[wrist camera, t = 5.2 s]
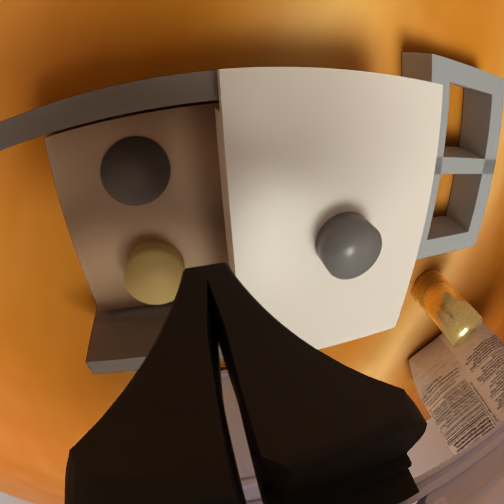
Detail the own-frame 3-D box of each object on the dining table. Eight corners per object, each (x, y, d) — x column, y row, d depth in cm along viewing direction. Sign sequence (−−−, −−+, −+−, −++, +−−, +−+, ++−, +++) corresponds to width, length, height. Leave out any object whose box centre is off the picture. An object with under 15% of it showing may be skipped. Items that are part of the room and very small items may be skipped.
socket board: (453, 229, 20) (474, 245, 18) (384, 241, 19) (405, 262, 17) (476, 73, 14) (504, 79, 12) (401, 52, 13) (432, 53, 11)
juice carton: (396, 361, 28) (507, 565, 6) (471, 299, 27) (602, 482, 4) (411, 384, 33) (499, 546, 11) (474, 333, 31) (575, 484, 9)
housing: (312, 284, 20) (341, 332, 16) (102, 318, 18) (93, 373, 14) (320, 70, 13) (370, 72, 9) (38, 109, 11) (-9, 125, 7)
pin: (433, 294, 24) (472, 340, 19) (407, 302, 23) (447, 352, 18) (442, 266, 22) (488, 311, 17) (416, 273, 22) (463, 323, 17)
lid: (376, 303, 18) (403, 339, 15) (236, 334, 17) (249, 381, 14) (409, 79, 11) (460, 88, 8) (212, 71, 10) (223, 67, 7)
